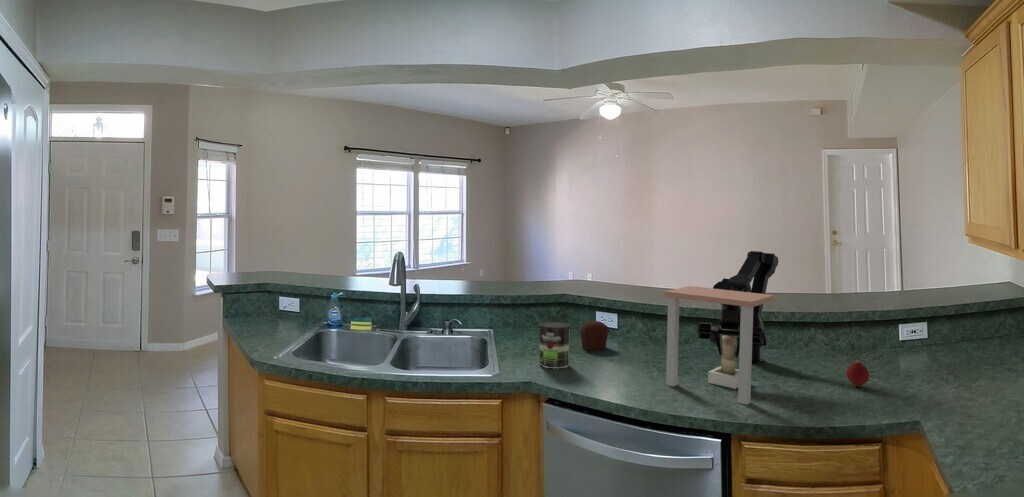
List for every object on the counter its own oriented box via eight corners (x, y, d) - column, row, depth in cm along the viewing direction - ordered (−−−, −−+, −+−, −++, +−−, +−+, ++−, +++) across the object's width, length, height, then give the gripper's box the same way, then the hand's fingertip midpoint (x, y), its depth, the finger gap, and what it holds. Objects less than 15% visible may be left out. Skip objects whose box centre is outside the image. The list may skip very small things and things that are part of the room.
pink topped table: (688, 373, 183) (690, 286, 181) (771, 392, 164) (774, 295, 162) (662, 384, 172) (664, 291, 169) (748, 406, 153) (751, 301, 151)
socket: (720, 376, 180) (720, 366, 179) (746, 382, 174) (747, 371, 173) (708, 382, 174) (708, 371, 173) (735, 388, 168) (735, 377, 167)
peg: (724, 375, 176) (725, 334, 175) (737, 378, 174) (738, 336, 173) (718, 378, 174) (719, 336, 173) (731, 381, 171) (732, 338, 170)
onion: (865, 384, 172) (867, 358, 171) (870, 390, 166) (872, 363, 166) (843, 382, 174) (845, 357, 173) (848, 388, 168) (849, 361, 168)
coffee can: (564, 370, 186) (564, 328, 185) (534, 367, 190) (535, 326, 189) (573, 362, 196) (573, 322, 195) (544, 359, 200) (545, 320, 198)
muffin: (577, 350, 212) (578, 324, 212) (579, 343, 223) (579, 318, 222) (610, 351, 210) (610, 325, 210) (609, 344, 221) (610, 319, 220)
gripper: (698, 297, 179) (694, 339, 170) (763, 301, 172) (762, 345, 162) (700, 317, 187) (696, 358, 178) (762, 321, 180) (761, 365, 170)
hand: (728, 356), depth 172 cm, fingers open, 4 cm apart
